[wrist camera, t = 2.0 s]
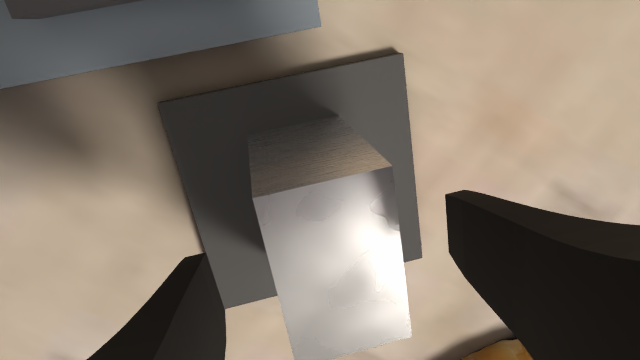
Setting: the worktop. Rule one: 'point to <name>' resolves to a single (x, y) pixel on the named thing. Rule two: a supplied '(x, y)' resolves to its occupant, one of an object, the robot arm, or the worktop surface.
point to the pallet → (131, 31)
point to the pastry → (501, 352)
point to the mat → (271, 113)
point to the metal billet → (330, 237)
